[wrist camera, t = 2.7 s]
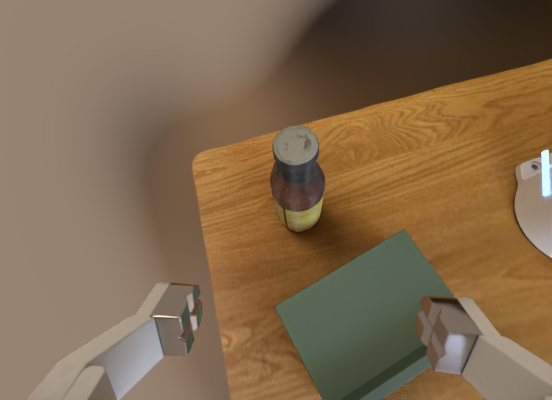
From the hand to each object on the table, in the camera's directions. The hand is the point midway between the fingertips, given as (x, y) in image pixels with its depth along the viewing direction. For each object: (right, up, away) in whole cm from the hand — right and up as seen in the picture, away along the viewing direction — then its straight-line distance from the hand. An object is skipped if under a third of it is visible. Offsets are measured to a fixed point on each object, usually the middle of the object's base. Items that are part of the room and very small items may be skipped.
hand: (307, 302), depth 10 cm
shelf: (+10, -11, +27) cm, 31 cm away
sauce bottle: (+2, +2, +32) cm, 33 cm away
